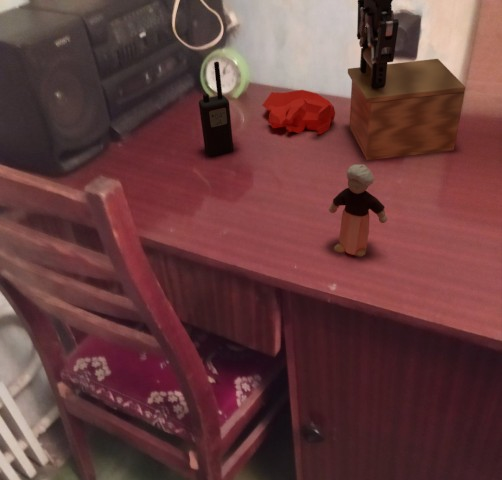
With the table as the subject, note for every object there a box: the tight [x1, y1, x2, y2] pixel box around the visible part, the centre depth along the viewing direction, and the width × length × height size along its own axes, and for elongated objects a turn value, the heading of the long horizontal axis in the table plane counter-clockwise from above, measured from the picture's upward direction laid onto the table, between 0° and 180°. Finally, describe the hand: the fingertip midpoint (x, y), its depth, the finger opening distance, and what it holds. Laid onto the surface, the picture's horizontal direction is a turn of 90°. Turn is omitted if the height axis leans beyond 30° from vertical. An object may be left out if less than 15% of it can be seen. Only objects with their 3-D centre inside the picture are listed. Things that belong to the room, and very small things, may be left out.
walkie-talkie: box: [198, 61, 235, 158], centre depth 97 cm, size 5×3×15 cm
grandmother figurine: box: [328, 163, 388, 257], centre depth 74 cm, size 8×4×13 cm, turn 73°
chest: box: [349, 80, 465, 161], centre depth 98 cm, size 15×13×10 cm
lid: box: [347, 47, 466, 103], centre depth 92 cm, size 15×13×5 cm
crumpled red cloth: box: [262, 89, 336, 135], centre depth 107 cm, size 12×15×5 cm
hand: (372, 78), depth 93 cm, fingers closed on lid, 6 cm apart
